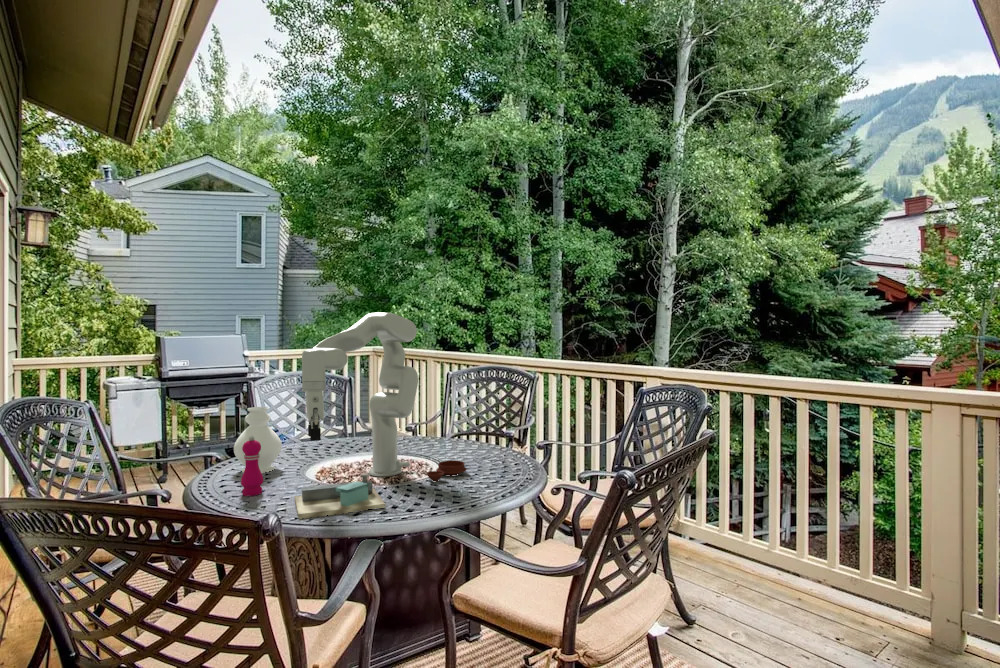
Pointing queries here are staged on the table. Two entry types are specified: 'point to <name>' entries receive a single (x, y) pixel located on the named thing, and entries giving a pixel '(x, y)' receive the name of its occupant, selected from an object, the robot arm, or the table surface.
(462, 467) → the pottery
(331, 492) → the link
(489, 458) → the table surface
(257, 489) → the pepper mill
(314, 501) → the base board
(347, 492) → the block
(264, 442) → the decorative vase
